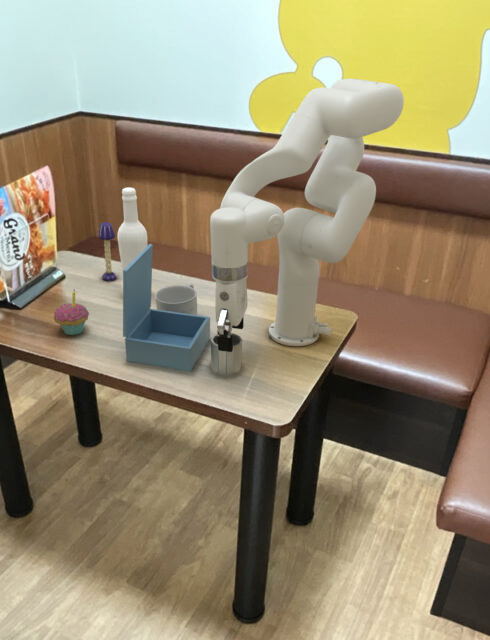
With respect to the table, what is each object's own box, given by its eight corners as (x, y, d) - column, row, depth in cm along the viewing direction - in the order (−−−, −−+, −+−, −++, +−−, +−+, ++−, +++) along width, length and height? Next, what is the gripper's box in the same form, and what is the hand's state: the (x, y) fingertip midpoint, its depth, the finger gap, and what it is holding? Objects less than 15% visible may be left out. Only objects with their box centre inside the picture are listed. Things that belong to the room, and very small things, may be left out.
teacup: (179, 335, 152) (178, 306, 148) (147, 322, 158) (145, 294, 153) (212, 314, 161) (213, 286, 157) (181, 303, 167) (180, 276, 162)
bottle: (149, 302, 167) (143, 193, 150) (120, 302, 167) (110, 193, 150) (152, 290, 174) (146, 184, 157) (124, 289, 174) (115, 184, 157)
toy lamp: (111, 273, 183) (106, 219, 174) (121, 277, 181) (117, 223, 171) (99, 278, 180) (93, 224, 171) (110, 283, 178) (104, 227, 168)
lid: (152, 244, 140) (149, 243, 140) (126, 270, 127) (122, 270, 128) (150, 307, 149) (147, 306, 149) (126, 337, 137) (122, 336, 137)
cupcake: (97, 326, 156) (91, 284, 149) (77, 342, 149) (71, 298, 143) (69, 320, 159) (63, 277, 152) (49, 334, 152) (41, 291, 146)
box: (210, 341, 150) (210, 316, 146) (190, 374, 137) (190, 348, 134) (150, 332, 153) (149, 308, 150) (126, 364, 141) (124, 338, 137)
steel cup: (243, 363, 141) (245, 335, 137) (236, 378, 136) (237, 349, 132) (215, 359, 143) (216, 330, 139) (207, 373, 137) (207, 344, 133)
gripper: (237, 290, 118) (237, 362, 128) (256, 253, 132) (256, 321, 142) (200, 286, 120) (204, 357, 130) (223, 250, 133) (225, 318, 144)
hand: (231, 339), depth 136 cm, fingers open, 9 cm apart
